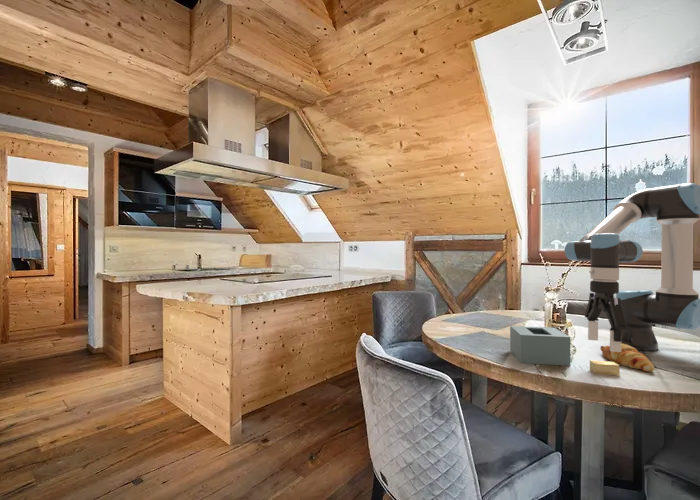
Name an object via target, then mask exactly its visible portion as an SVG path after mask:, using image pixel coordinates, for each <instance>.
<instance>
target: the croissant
mask: <svg viewBox="0 0 700 500" xmlns="http://www.w3.org/2000/svg"><path fill="white" fill-rule="evenodd" d="M600 351H601V353H602V355H603V356H604V357H605V358H606V359H608V361H610V362H615V363H616V364H618V365H620V366H623V367H627V366H628V367H629V368H631V369H637V370H642V371H643V372H654V371H655V365H654V363H653V362H652V361H651V360H650V359H649V358H648V357H647V356H646V354H644V353H642V352H639V350H637V349H635V348H633V347H631V346H629V345H626V344H623V343H621V352H611V351H610V345H605V346H604V345H602V346H600Z"/></svg>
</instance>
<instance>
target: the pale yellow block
mask: <svg viewBox="0 0 700 500" xmlns="http://www.w3.org/2000/svg"><path fill="white" fill-rule="evenodd" d="M620 366H621V365H619V364H617V363H615V362H612V361H610V360H608V361H607V360H592V359H590V360H589V371H590V372H591V373H593V374H594V375H603V376H617V375H620V373H621V372H620V370H621V369H620Z"/></svg>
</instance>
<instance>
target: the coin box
mask: <svg viewBox="0 0 700 500" xmlns="http://www.w3.org/2000/svg"><path fill="white" fill-rule="evenodd" d="M509 333H510V334H509V337H510V338H509V342H510V343H509V344H510V347H509V348H510V349H509V351H510V353H511V354H513V356H514V357H515V358H516V359H517V360H518V361H519V363H520V364H533V365H534V364H535V365H537V364H538V365H550V366H551V365H553V366H571V336H569V335H568V334H566V333H564V332H562V331H561V330H560V329H557V327H544V326H521V325H520V326H519V325H510V326H509Z"/></svg>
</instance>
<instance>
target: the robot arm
mask: <svg viewBox="0 0 700 500" xmlns="http://www.w3.org/2000/svg"><path fill="white" fill-rule="evenodd" d="M645 218H656V222H657V223H659V224H660V225H661V258H660V259H661V264H660V265H661V267H660V268H661V269H660V270H661V271H660V272H661V276H660V277H661V278H660V279H661V280H660V281H661V282H660V287H659V288H657V289H656V290H655V294H654V292H653V290H651V289H649V290H647V289H644V290H643V289H640V290H636V289H634V290H632V289H631V290H620V283H619V282H618V281H619V280H620V263H627V264H628V263H629V264H630V263H635V262H636V261H638V260H640V259H641V258H642V256H643V253H644V252H643V251H644V250H643V247H642V246H641V244H640V243H638V242H636V241H634V240H630V239H627V240H626V239H623V240H622V239H620V234H621V233H622V232H623V231H625V229H626V228H627V227H628V226H630V225H631V224H633V223H637V222H638V221H639V220H641V219H645ZM698 221H700V184H698V183H692V182H690V183H678V184H672V185H664V186H657V187H651V188H645V189H641V190H639V191H636V192H635V193H634V192H633V193H632V194H631V195H629V196H626V197H625V198H624V199H622V200H620V201H619V203H617V204H616V205H615V206H614V207H613V210H612V212H611V213H609V215H607V216H606V217H605V218H603V220H601V221H600V222H599V223H598V224H597V225H596V226H594V227H593V228H592V229H591V230H590V231H589V232H588V233H586V234H585V235H583V237H582V238H580V240H573V241H568V242H567V243H566V244H565V246H564V250H563V251H564V255H565V257H566V258H567V259H568V260H569V261H574V262H575V261H576V262H590V270H589V273H590V275H589V276H590V279H591V280H590V282H589V292H590V293H589V297H588V303H587V305H586V309H585V311H584V312H585V313H584V318H587V322H588V323H587V328H588V329H587V333H588V334H587V339H588V341H599V316H600V315H601V313H602V311H603V312H604V313H605V315H606V318H607V320H608V322H609V325H610V328H609V346H610V351H611V352H621V343H623V344H626V345H629V346H631V347H633V348H635V349H637V351H642V350H655V351H657V350H656V349H658V350H659V343H658V339H657V338H656V335H655V333H654V330H653V325H657V326H664V327H671V328H675V329H678V330H687V331H689V330H690V331H693V330H697V329H698V328H700V297H699V295H700V294H699V292H697V291H696V290H695V289H694V285H693V284H694V283H693V282H694V281H693V280H694V279H693V277H694V224H695V223H697V222H698ZM615 294H616V295H615ZM614 295H615V296H614Z"/></svg>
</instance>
